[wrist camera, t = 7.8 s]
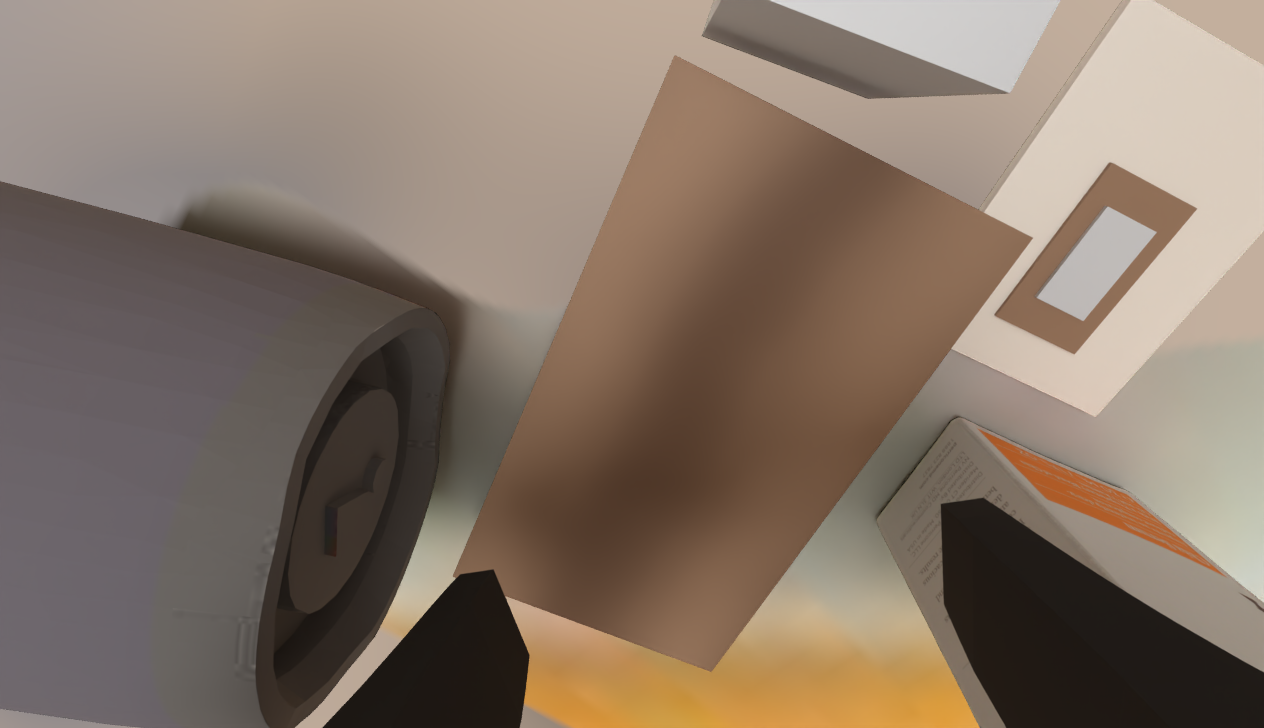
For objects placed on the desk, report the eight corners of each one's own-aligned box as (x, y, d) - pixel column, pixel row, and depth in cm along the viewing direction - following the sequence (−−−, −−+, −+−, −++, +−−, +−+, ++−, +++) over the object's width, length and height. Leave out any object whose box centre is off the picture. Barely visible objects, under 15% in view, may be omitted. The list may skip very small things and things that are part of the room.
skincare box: (1131, 485, 17) (1987, 1184, 6) (1032, 587, 19) (1561, 1279, 8) (951, 406, 16) (1550, 1033, 5) (865, 518, 18) (1185, 1175, 7)
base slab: (973, 216, 14) (1033, 238, 12) (705, 605, 20) (711, 671, 17) (672, 63, 13) (674, 55, 11) (478, 518, 19) (452, 576, 16)
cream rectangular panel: (1346, 122, 13) (1371, 123, 12) (1088, 411, 16) (1100, 420, 16) (1126, -7, 12) (1144, -11, 12) (900, 322, 15) (907, 329, 15)
